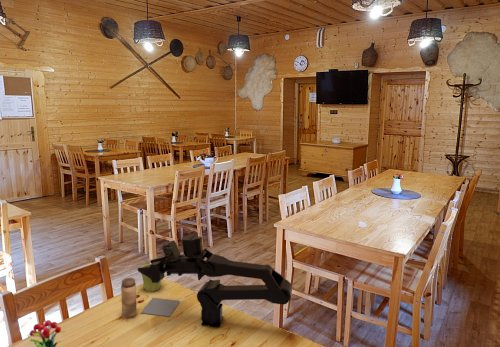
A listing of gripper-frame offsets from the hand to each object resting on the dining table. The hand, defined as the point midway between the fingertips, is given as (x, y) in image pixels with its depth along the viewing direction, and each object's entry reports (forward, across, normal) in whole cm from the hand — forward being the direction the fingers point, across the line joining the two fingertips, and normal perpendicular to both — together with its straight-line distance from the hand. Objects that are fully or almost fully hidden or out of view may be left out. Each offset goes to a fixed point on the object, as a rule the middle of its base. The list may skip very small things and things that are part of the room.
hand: (144, 265), depth 136 cm
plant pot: (+8, -18, +16) cm, 25 cm away
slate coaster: (-2, -6, +18) cm, 19 cm away
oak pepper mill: (+7, +2, +17) cm, 19 cm away
